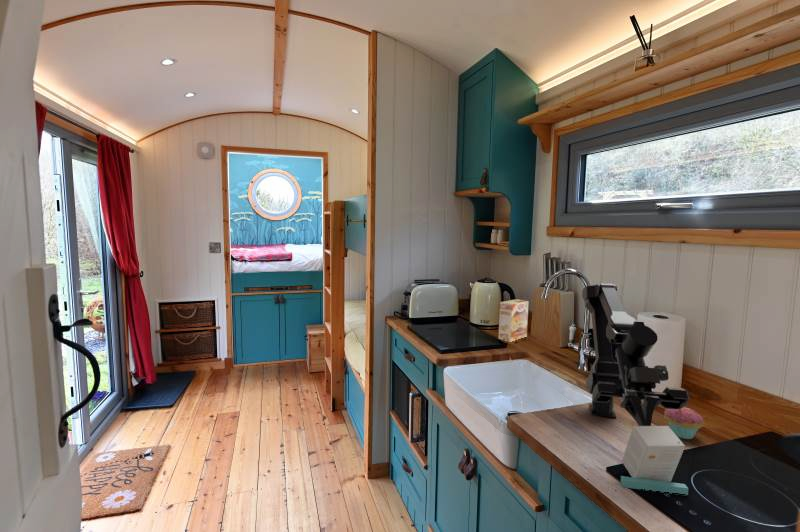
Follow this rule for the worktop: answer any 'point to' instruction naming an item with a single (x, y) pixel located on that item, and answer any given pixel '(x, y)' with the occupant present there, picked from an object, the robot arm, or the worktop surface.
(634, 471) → the small box
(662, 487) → the teal batten
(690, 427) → the cupcake
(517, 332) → the coffeecake box
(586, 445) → the worktop surface
